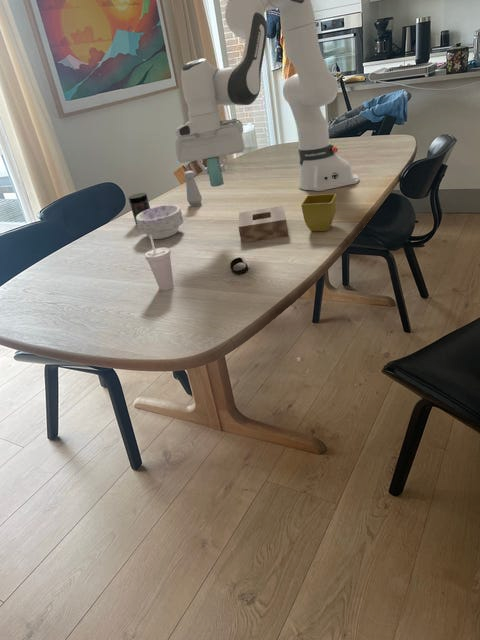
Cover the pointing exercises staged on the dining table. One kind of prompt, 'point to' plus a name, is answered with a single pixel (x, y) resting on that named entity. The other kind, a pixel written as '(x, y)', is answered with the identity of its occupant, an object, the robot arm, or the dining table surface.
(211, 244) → the dining table surface
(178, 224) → the paper bowls
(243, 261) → the watch
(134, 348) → the dining table surface
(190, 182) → the salt shaker
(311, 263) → the dining table surface
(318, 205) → the flower pot
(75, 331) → the dining table surface
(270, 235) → the bore block
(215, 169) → the dowel
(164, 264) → the smoothie
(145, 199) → the supplement container
